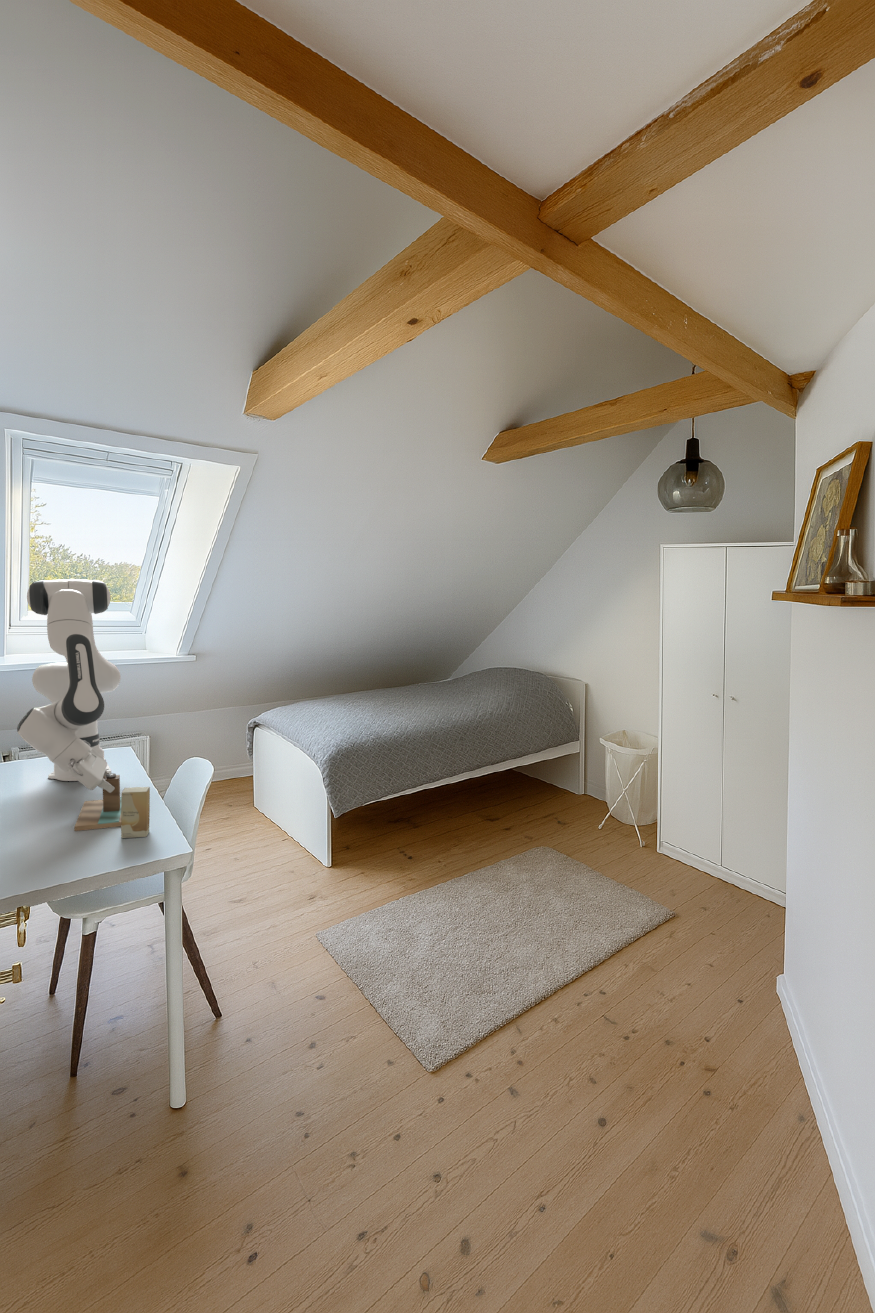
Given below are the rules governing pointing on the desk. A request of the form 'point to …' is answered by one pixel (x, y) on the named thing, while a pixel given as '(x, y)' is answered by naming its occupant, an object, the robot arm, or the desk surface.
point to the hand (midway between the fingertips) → (113, 787)
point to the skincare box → (135, 812)
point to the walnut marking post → (112, 794)
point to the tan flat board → (97, 816)
